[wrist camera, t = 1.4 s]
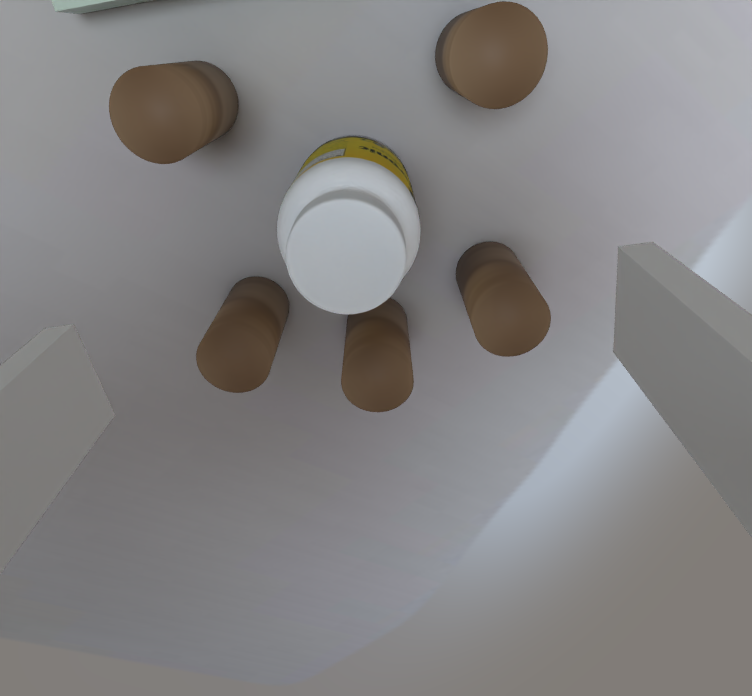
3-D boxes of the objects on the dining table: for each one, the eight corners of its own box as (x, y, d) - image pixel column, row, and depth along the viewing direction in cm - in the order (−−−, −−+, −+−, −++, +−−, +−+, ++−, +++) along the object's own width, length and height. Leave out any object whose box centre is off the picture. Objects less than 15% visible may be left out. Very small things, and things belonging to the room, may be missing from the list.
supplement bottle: (431, 212, 28) (456, 289, 19) (337, 266, 29) (320, 361, 20) (374, 108, 25) (374, 142, 17) (275, 171, 27) (227, 233, 18)
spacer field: (247, 367, 32) (221, 432, 26) (155, 67, 24) (94, 74, 19) (521, 329, 31) (551, 389, 25) (508, 4, 23) (547, -7, 18)
